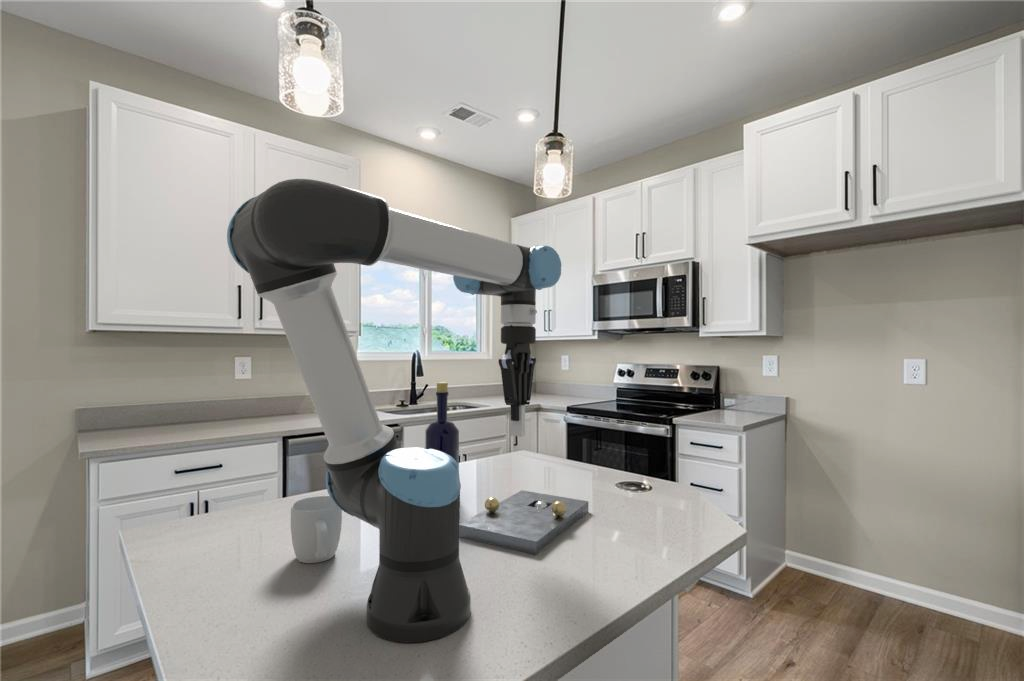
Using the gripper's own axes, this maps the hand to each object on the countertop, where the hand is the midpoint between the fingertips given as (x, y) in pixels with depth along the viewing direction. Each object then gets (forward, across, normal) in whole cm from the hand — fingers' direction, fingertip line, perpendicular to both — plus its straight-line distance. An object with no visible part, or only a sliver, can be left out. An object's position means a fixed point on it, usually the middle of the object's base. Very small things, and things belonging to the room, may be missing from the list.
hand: (517, 435), depth 107 cm
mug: (+21, -31, +25) cm, 45 cm away
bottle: (+21, +9, +27) cm, 35 cm away
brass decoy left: (+16, +1, +7) cm, 18 cm away
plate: (+20, +5, 0) cm, 21 cm away
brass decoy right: (+16, +6, -7) cm, 19 cm away
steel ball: (+19, +11, 0) cm, 22 cm away
